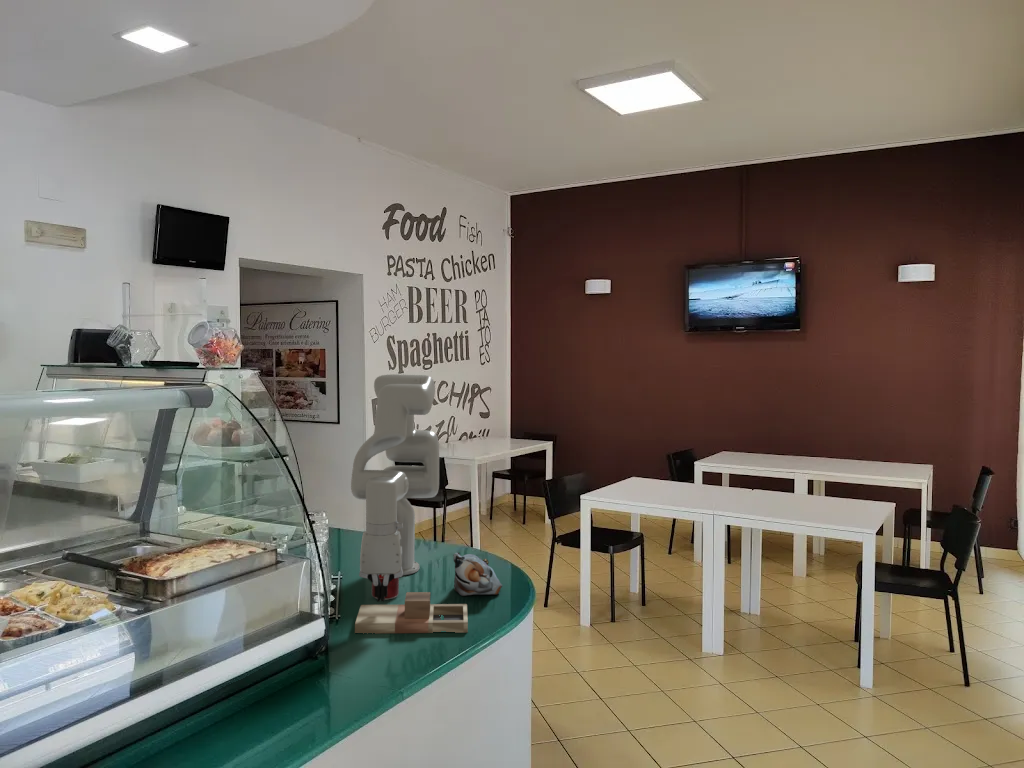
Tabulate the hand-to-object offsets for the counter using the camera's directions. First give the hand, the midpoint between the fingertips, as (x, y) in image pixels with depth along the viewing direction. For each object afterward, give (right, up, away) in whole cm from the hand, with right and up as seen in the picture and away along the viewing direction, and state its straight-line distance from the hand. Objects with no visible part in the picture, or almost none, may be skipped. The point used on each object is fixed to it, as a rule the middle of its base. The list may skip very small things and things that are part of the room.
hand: (381, 599), depth 188 cm
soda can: (-2, -5, +19) cm, 19 cm away
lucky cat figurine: (+23, -5, +22) cm, 32 cm away
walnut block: (+9, -4, 0) cm, 10 cm away
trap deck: (+8, -6, 0) cm, 10 cm away
